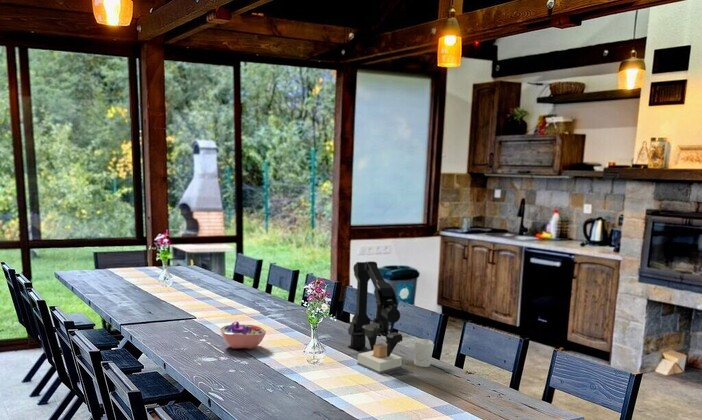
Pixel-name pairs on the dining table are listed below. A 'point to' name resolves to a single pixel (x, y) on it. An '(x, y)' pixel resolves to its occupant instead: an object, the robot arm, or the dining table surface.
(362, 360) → the socket plate
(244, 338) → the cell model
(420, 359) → the white cup
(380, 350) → the plug
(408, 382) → the dining table surface
